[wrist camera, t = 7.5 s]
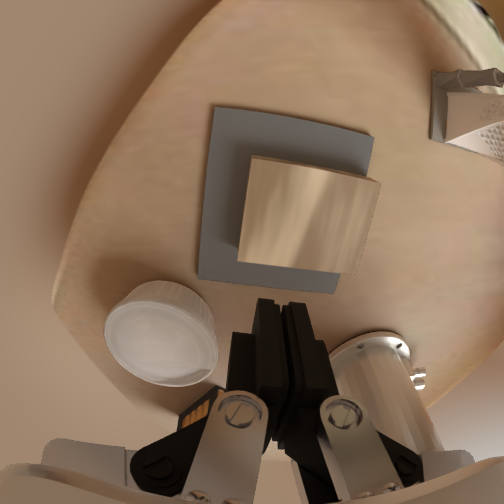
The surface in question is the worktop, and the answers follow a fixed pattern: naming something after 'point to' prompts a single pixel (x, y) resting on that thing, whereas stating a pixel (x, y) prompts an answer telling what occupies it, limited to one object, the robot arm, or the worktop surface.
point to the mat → (235, 184)
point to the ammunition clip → (199, 408)
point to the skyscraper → (469, 112)
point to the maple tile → (305, 216)
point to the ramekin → (163, 334)
